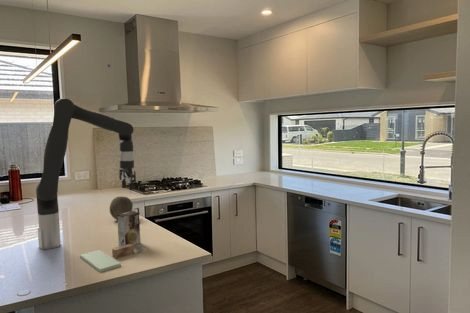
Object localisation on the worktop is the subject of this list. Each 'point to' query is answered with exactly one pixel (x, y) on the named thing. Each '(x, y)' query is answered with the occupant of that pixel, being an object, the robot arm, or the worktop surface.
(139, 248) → the tall wooden post
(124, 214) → the coffee box
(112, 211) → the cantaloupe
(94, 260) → the board
